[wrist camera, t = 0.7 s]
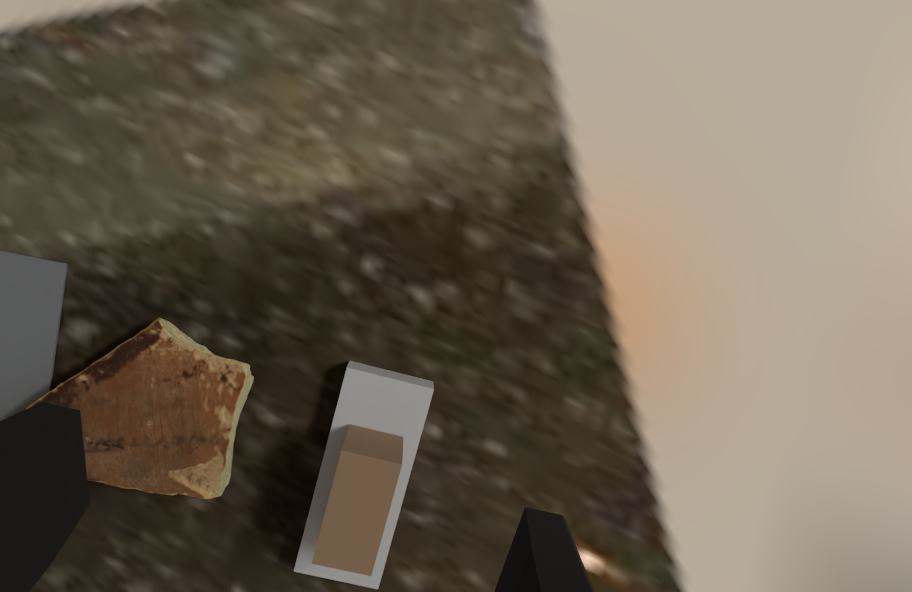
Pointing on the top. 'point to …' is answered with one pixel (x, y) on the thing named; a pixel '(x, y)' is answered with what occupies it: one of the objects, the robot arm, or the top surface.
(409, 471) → the grout float
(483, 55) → the top surface
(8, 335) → the felt mat
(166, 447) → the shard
